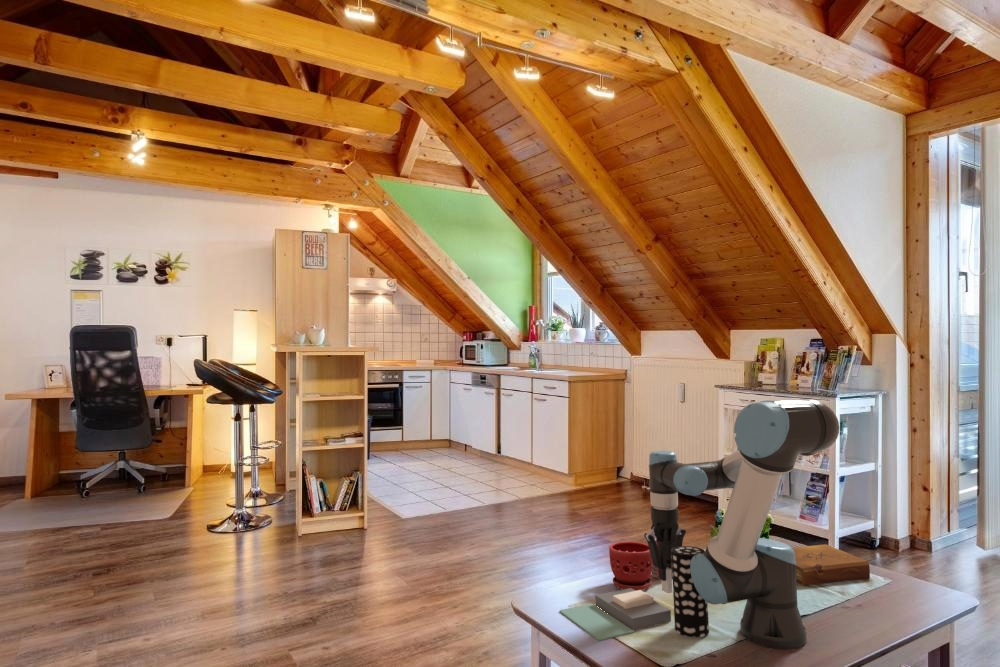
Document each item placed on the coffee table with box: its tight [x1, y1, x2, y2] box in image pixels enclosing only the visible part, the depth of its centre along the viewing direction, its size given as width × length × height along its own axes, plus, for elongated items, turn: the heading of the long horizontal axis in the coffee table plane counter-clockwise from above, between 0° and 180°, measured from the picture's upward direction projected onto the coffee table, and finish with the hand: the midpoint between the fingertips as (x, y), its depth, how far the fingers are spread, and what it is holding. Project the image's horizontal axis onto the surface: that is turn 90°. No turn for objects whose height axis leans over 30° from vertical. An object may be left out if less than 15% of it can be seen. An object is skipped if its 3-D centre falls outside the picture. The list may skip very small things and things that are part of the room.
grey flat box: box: [594, 588, 672, 631], centre depth 174 cm, size 18×12×3 cm, turn 23°
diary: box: [792, 543, 871, 587], centre depth 202 cm, size 23×19×6 cm
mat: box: [559, 603, 635, 641], centre depth 169 cm, size 20×10×1 cm, turn 23°
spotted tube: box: [671, 545, 710, 638], centre depth 162 cm, size 8×8×20 cm
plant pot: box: [608, 541, 653, 591], centre depth 194 cm, size 13×13×12 cm
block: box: [613, 590, 654, 609], centre depth 174 cm, size 6×9×2 cm, turn 113°
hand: (667, 591), depth 179 cm, fingers closed
